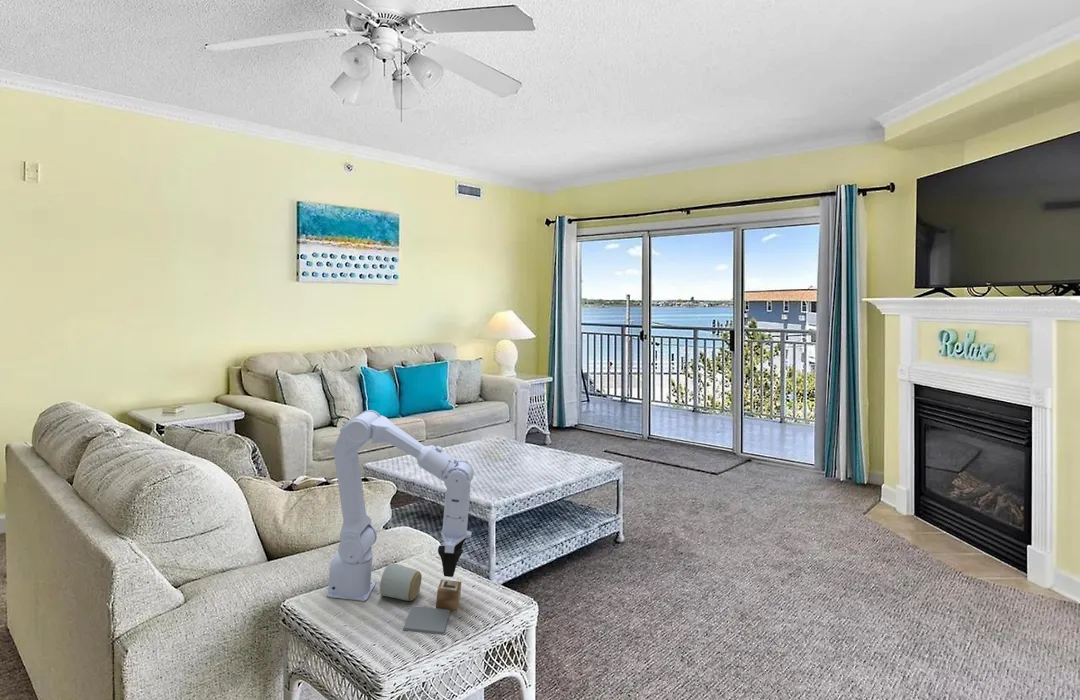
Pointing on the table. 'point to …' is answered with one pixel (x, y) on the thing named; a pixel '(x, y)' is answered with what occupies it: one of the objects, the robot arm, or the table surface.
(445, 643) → the table surface
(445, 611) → the slate mat
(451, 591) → the letter cube
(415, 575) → the ceramic mug
